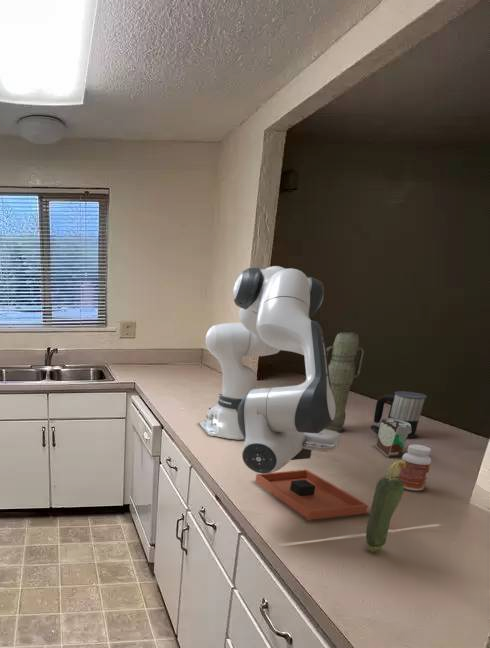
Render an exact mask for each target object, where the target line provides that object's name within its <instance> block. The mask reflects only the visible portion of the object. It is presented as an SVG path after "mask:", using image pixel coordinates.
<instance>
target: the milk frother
mask: <svg viewBox="0 0 490 648" xmlns="http://www.w3.org/2000/svg"><path fill="white" fill-rule="evenodd" d="M427 398H428V397H427V395H425V394H424V393H419V392H412V391H399V390H398V391H395V392H394V394H384V395H382V396H380V397H379V398H378V399H377V400H376V405H375V410H374V417H373V422H374V423H375V424H380V423H379V422H380V420H381V417H383V413H384V407H385V403H386V402H388V401H390V402H391V404H390V408H389V412H388V415H387V418H393V419H398V420H402V421H405V422H408V423H410V424H411V427H412V432H411V433H410V434H408V436H407V439H413V438H415V437H416V436H417V435H416V433H417V428H418V424H419V421H420V417H421V413H422V410H423V407H424V404H425V401H426V399H427ZM375 424H374V425H370V430H371V431H372V432H373V433H374V434H376V435H378V433H379V427H380V426H377V425H375Z"/></svg>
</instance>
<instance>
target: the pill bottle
mask: <svg viewBox="0 0 490 648" xmlns="http://www.w3.org/2000/svg"><path fill="white" fill-rule="evenodd" d="M431 452H432V448H431V447H428V446H425V445H421V444H409V445H408V447H407V452H405V453H404V454H402V457H401V460H405V461H406V462H407V463H406V467H405V468H404V467H403V465H401V471H400V474H399V475H400V476H397V477H399V478H400V479H401V480H402V482H403V486H404V489H405V490H409V491H423V490H424V489H425V486H426V482H427V479H428V475H429V472H430V467H431V465H432V458H431V457H430V455H431Z"/></svg>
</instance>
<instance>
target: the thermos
mask: <svg viewBox="0 0 490 648" xmlns="http://www.w3.org/2000/svg"><path fill="white" fill-rule="evenodd" d="M332 344H333V345H329V346H328V347H326V352H327V358H328V356H329V352H330V350H331V349H332V350H331V357H330V359H329V362H328V368H329V376H330V384H331V391H332V394H333V397H334V401H335V407H336V412H335V417H334V421H333V422H332V423H331V424H330V425H329V426H328V427H327V428H325V429H326V430H331V431H336V432H338V433H340V432H342V431H343V427H344V425H345V421H346V416H347V414H346V408H347V404H348V399H349V394H350V389H351V386H352V384H353V382H354V379H355V378H359V376H360V373H361V369H362V366H363V365H362V364H363V359H364V355H365V350H364V349H363V347H362V346H360V345H359V344H360V341H359V334H358V333H356V332H347V331H346V332H345V331H341V332H338V333H337V335H336V336H335V338H334V342H333V343H332ZM358 351H360V353H359V359H358V363H357V367H356V364H355V363H356V360H355V359H356V357H357V352H358Z"/></svg>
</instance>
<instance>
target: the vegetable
mask: <svg viewBox="0 0 490 648" xmlns="http://www.w3.org/2000/svg"><path fill="white" fill-rule="evenodd" d="M406 463H407V462H406V461H405V460H402V459H399V460H396V461H394V463H392V464H391V465H390V466H389V467H388V469H387V472H386V473H387V475H384V476H382V477H381V478H380V479H379V480H378V481H377V483H376V486H375V490H374V494H373V498H372V504H371V508H370V512H369V516H368V520H367V522H366V523H367V524H366V530H365V541H366V543H367V546H368V548H369V549H370V551H371V552H372V553H374V552H375V551H377V550H378V551H379V550H381V549H383V546H385V544H386V542H387V537H388V533H389V529H390V523H391V520H392V517H393V514H394V513H395V511H396V509H397V508H398V507H399V504H400V502H401V500H402V497H403V496H404V495H403V494H404V489H405V488H404V486H403V482H402V480H401V479H400V478H399V477H397V476H400V475H399V474H400V471H401V465H403V467H404V468H405V467H406Z"/></svg>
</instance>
